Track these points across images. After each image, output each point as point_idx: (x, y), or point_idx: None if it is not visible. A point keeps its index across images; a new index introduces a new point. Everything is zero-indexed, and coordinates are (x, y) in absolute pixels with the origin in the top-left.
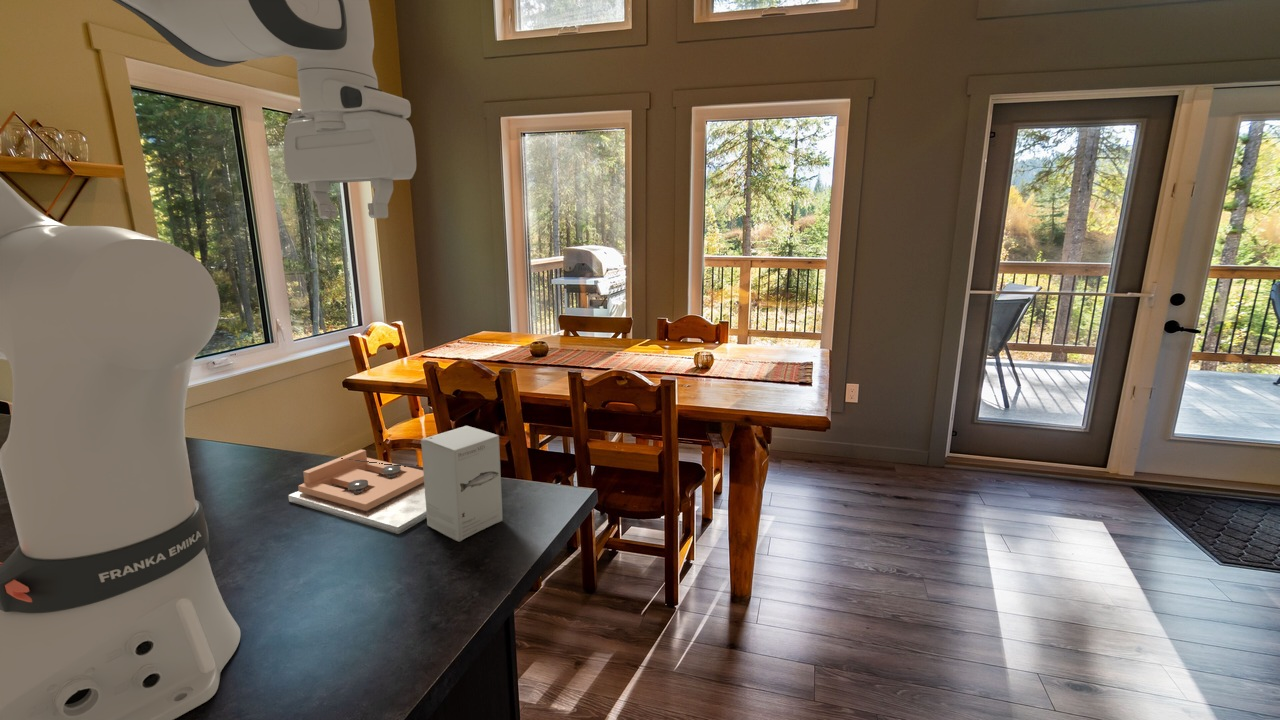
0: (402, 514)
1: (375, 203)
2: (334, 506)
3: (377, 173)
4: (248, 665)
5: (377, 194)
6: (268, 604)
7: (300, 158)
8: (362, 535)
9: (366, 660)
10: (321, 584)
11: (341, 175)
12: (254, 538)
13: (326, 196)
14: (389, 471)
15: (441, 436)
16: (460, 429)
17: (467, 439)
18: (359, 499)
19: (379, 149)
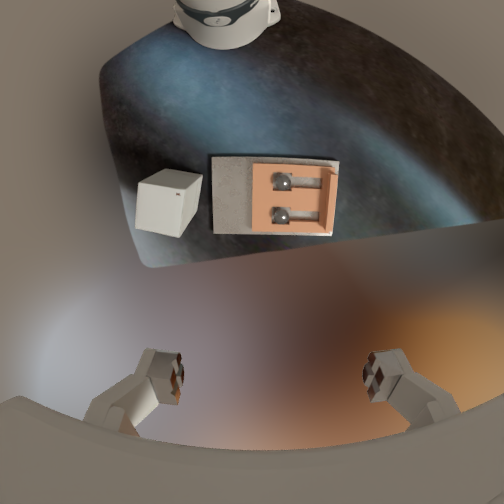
0: (224, 172)
1: (135, 373)
2: (286, 160)
3: (50, 417)
4: (180, 39)
5: (111, 389)
6: (218, 66)
7: (498, 464)
8: (236, 144)
9: (131, 71)
10: (207, 92)
11: (255, 460)
12: (306, 110)
13: (408, 412)
14: (277, 211)
15: (172, 201)
16: (172, 224)
17: (146, 206)
18: (264, 167)
19: (3, 466)
